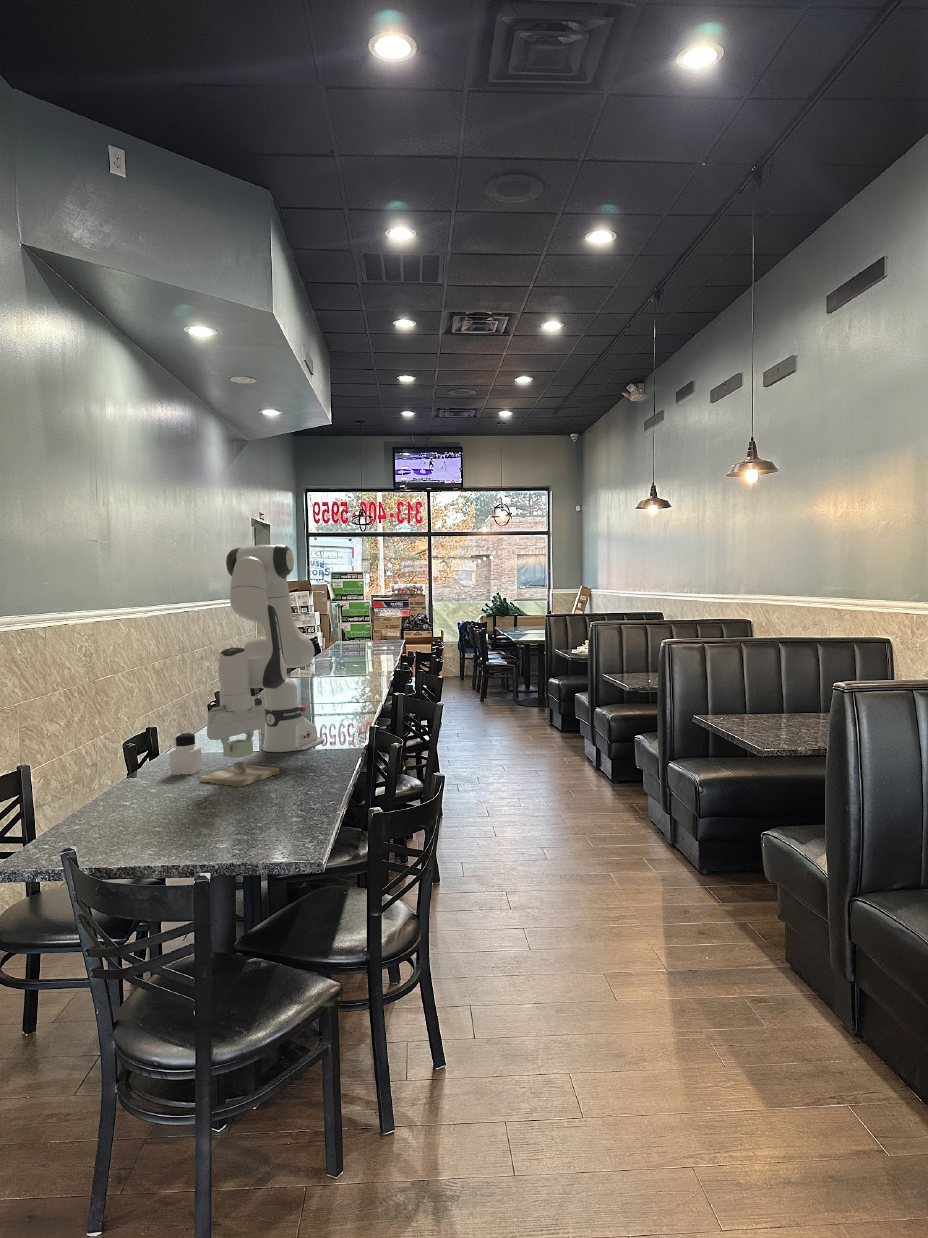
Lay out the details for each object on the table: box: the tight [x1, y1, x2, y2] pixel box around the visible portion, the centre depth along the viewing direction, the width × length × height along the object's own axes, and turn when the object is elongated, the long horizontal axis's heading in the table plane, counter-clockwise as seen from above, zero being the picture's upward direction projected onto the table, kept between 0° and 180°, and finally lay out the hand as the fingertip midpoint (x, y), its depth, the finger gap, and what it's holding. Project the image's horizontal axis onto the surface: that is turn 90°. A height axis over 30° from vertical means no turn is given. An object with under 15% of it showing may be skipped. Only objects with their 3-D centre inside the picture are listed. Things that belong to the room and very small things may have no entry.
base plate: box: [199, 761, 280, 788], centre depth 235 cm, size 16×16×4 cm
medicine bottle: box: [169, 732, 203, 776], centre depth 245 cm, size 7×7×12 cm
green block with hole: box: [222, 738, 254, 759], centre depth 234 cm, size 6×6×4 cm
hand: (238, 749), depth 234 cm, fingers closed on green block with hole, 6 cm apart
